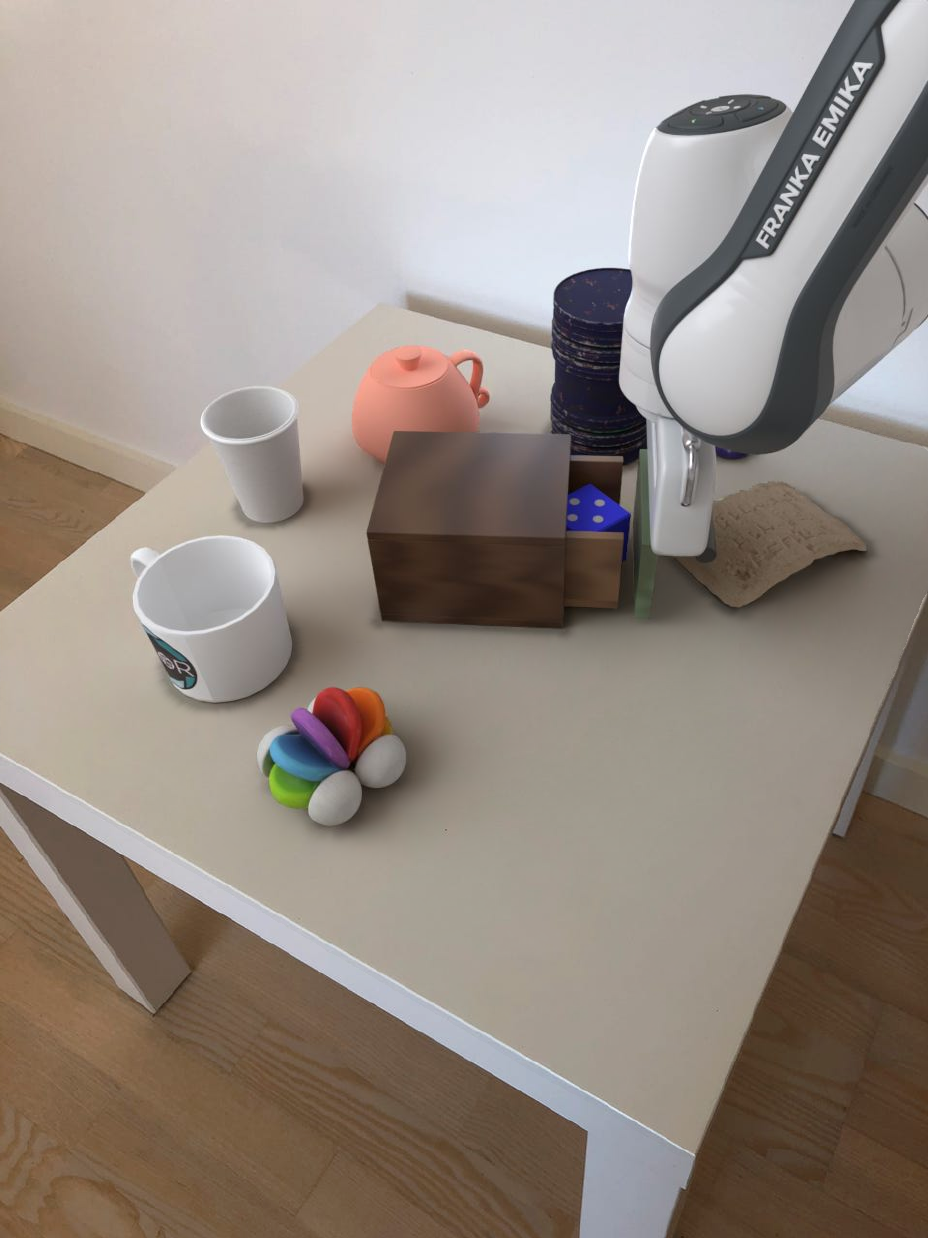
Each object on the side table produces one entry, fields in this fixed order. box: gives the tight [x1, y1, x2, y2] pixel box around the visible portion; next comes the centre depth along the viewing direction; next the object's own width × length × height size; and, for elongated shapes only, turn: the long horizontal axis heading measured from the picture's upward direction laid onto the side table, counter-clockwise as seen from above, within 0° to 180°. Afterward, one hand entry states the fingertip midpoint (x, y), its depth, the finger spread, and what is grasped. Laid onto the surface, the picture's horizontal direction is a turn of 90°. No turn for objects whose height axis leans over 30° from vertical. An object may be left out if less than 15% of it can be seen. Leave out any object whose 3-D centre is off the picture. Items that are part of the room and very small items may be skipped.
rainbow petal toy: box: [256, 686, 407, 827], centre depth 64 cm, size 8×10×7 cm
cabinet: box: [366, 431, 571, 630], centre depth 76 cm, size 15×13×10 cm
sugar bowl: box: [351, 344, 491, 465], centre depth 89 cm, size 12×14×10 cm
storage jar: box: [549, 267, 647, 467], centre depth 86 cm, size 10×10×15 cm
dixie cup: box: [200, 385, 304, 524], centre depth 84 cm, size 8×8×10 cm
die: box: [566, 484, 632, 563], centre depth 76 cm, size 5×5×5 cm
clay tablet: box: [672, 480, 867, 608], centre depth 79 cm, size 14×10×3 cm
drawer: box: [564, 449, 717, 620], centre depth 75 cm, size 18×11×8 cm, turn 84°
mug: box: [129, 534, 293, 704], centre depth 72 cm, size 13×10×8 cm
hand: (665, 517), depth 74 cm, fingers closed, pressing on drawer
